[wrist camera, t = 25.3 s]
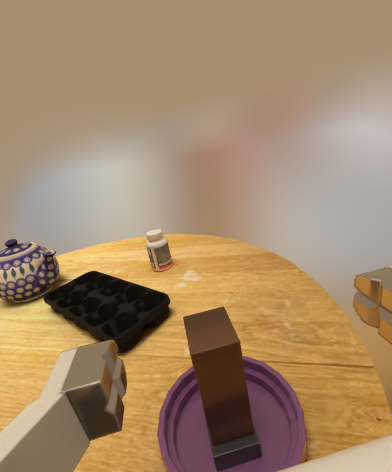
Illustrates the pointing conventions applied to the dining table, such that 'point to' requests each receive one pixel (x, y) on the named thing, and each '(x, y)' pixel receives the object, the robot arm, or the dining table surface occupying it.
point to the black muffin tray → (110, 307)
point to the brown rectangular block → (222, 387)
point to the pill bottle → (158, 250)
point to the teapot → (26, 271)
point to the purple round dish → (263, 416)
